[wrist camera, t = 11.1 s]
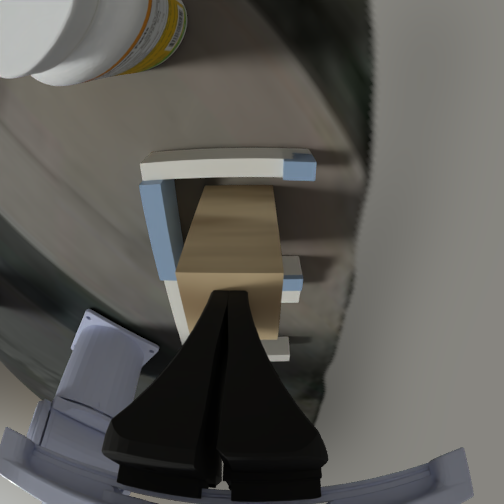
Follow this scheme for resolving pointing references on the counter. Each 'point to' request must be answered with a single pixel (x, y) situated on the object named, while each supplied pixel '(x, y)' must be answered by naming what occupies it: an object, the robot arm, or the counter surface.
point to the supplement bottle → (87, 38)
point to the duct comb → (206, 166)
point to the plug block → (234, 254)
